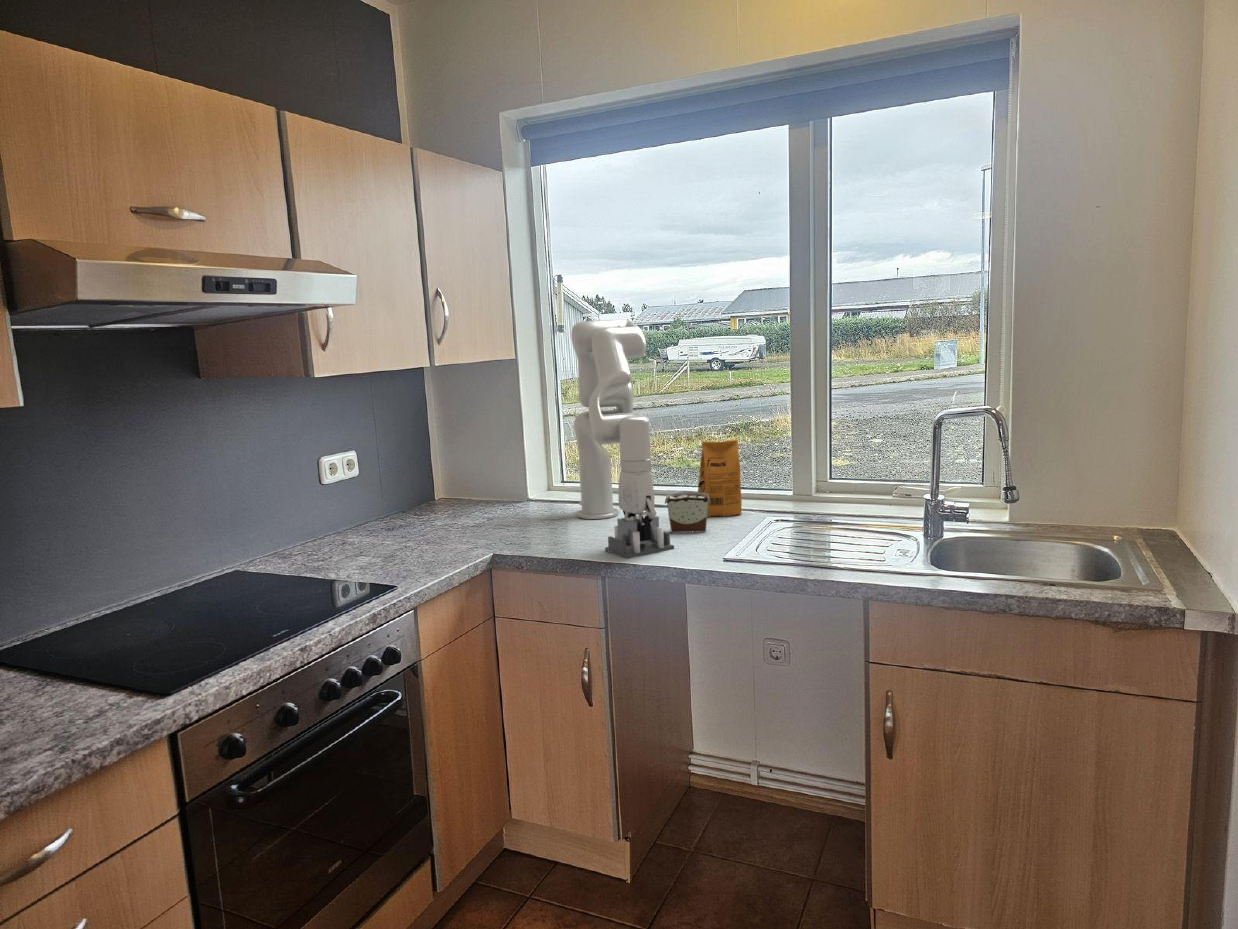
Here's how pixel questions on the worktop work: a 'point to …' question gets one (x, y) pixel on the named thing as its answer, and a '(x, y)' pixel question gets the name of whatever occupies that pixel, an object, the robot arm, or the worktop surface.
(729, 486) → the coffee package
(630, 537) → the block
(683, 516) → the food container
